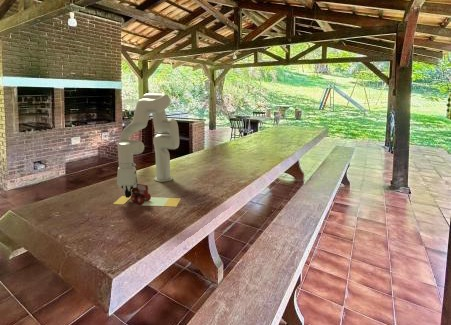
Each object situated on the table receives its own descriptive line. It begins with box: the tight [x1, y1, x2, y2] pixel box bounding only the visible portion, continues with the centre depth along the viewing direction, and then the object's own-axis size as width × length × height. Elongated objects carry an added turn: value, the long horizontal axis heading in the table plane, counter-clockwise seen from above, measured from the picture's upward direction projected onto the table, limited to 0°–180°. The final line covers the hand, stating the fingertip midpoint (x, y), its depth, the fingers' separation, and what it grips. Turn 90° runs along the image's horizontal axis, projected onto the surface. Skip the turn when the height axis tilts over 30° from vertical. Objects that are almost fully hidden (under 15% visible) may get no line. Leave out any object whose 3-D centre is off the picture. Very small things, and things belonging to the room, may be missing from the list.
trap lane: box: [112, 195, 182, 208], centre depth 163 cm, size 12×35×1 cm, turn 86°
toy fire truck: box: [130, 182, 152, 205], centre depth 162 cm, size 7×12×10 cm, turn 57°
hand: (128, 196), depth 163 cm, fingers closed
